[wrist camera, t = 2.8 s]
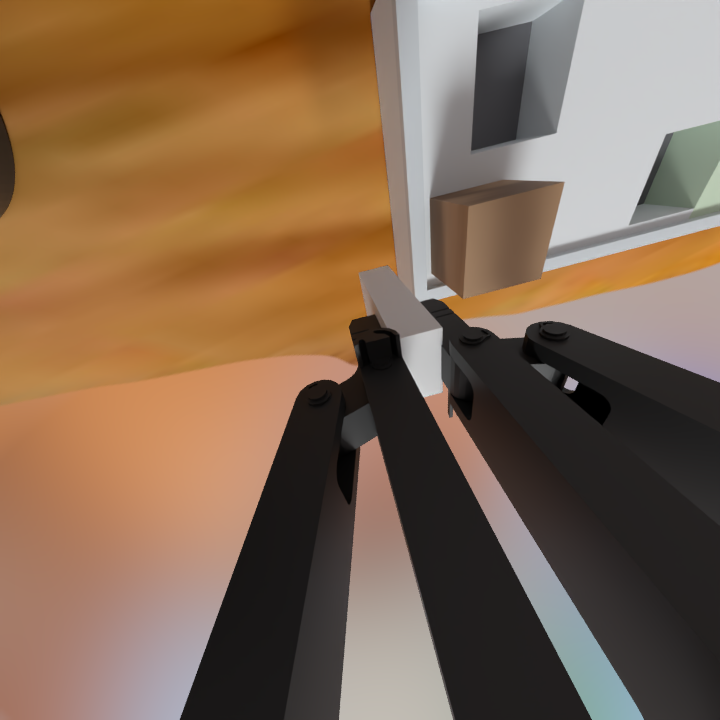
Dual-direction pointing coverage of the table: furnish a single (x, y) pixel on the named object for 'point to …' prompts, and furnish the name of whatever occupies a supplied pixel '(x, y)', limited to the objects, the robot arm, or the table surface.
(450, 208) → the walnut block
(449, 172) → the board
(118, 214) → the table surface
